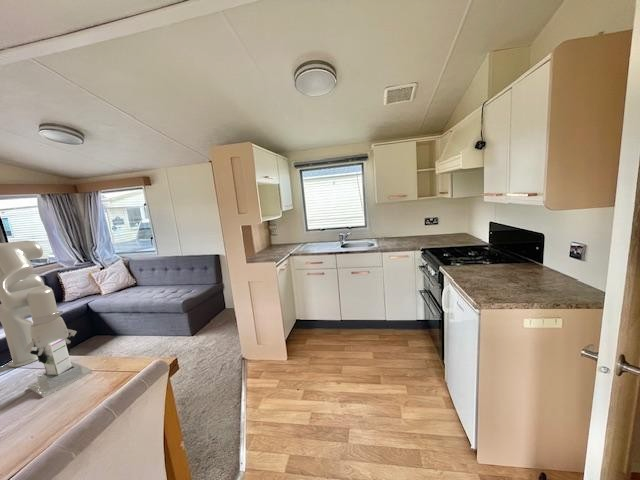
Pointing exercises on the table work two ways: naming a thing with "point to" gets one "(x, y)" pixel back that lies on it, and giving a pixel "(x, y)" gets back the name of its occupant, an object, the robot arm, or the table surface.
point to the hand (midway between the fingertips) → (55, 356)
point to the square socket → (58, 379)
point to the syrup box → (56, 357)
